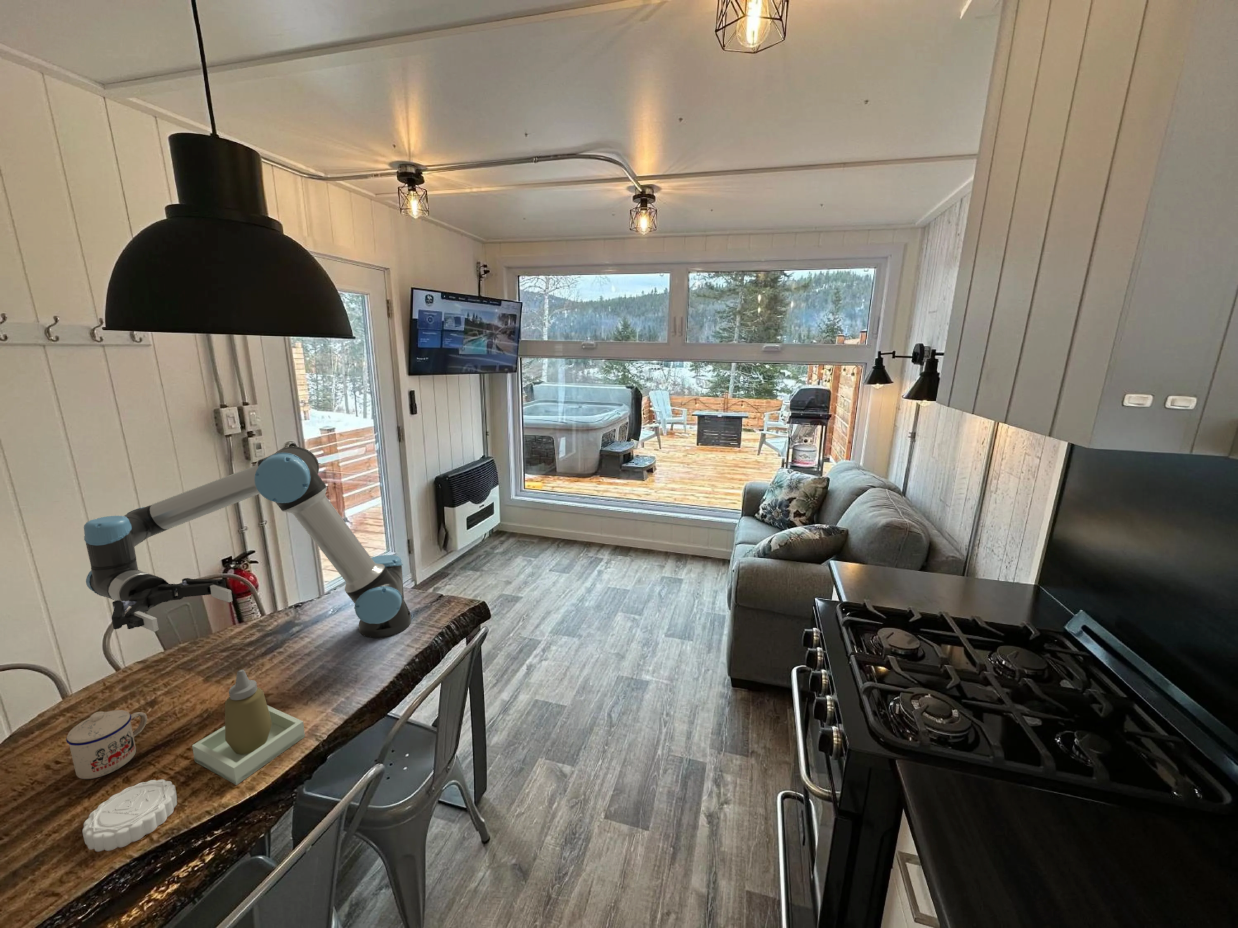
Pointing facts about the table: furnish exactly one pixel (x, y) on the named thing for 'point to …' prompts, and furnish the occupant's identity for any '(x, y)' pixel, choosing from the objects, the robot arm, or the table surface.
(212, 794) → the table surface
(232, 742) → the squeeze bottle
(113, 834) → the mooncake
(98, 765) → the teacup with lid
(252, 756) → the tray
